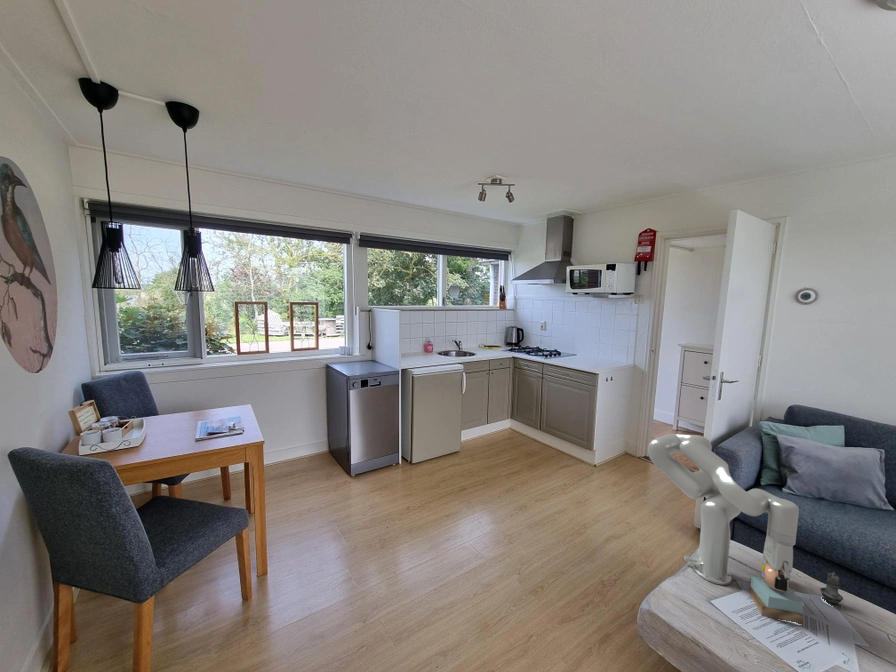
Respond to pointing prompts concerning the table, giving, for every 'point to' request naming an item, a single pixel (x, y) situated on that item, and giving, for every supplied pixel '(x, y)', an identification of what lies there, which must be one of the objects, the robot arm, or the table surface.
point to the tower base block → (774, 610)
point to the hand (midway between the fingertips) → (775, 582)
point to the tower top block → (776, 596)
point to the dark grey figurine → (832, 591)
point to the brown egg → (771, 576)
